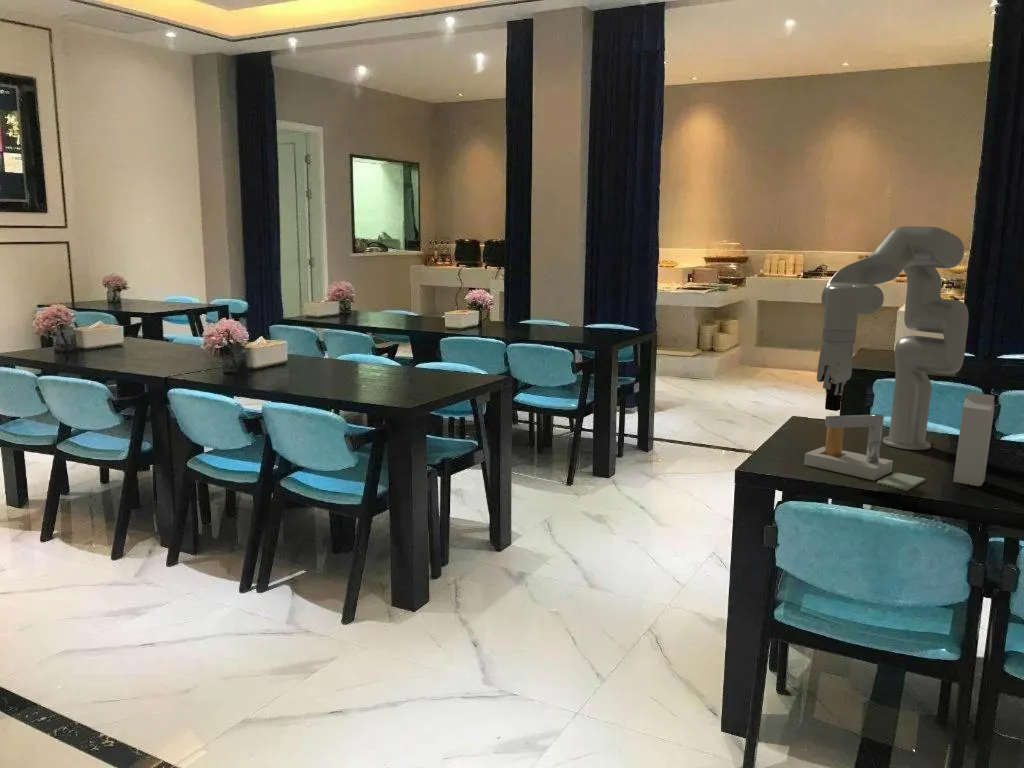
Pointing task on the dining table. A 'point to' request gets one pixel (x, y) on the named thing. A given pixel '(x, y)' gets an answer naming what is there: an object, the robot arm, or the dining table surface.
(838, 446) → the tan rectangular bar
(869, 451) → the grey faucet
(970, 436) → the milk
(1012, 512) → the dining table surface
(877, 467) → the gray rectangular base
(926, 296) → the robot arm
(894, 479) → the mat
